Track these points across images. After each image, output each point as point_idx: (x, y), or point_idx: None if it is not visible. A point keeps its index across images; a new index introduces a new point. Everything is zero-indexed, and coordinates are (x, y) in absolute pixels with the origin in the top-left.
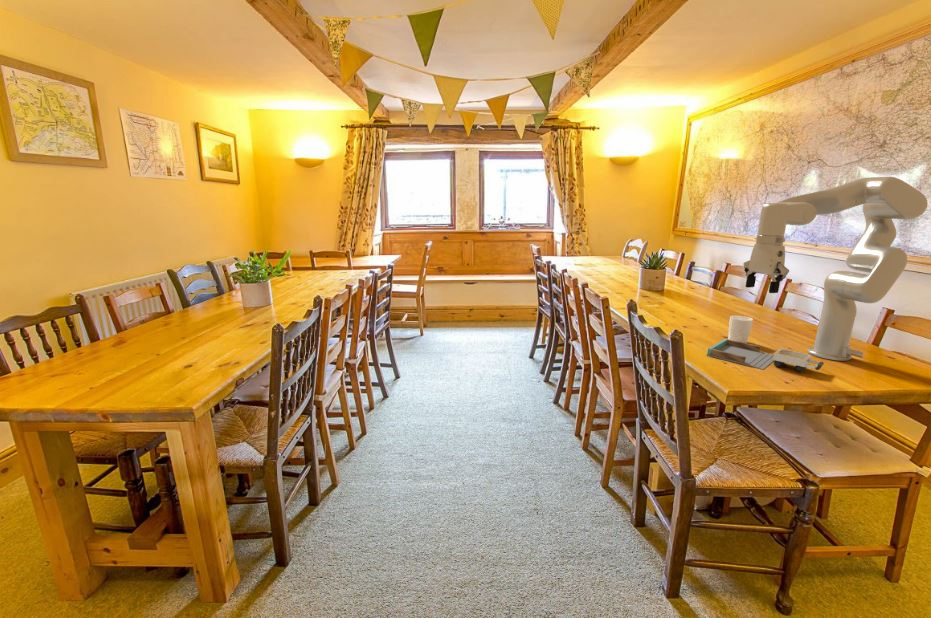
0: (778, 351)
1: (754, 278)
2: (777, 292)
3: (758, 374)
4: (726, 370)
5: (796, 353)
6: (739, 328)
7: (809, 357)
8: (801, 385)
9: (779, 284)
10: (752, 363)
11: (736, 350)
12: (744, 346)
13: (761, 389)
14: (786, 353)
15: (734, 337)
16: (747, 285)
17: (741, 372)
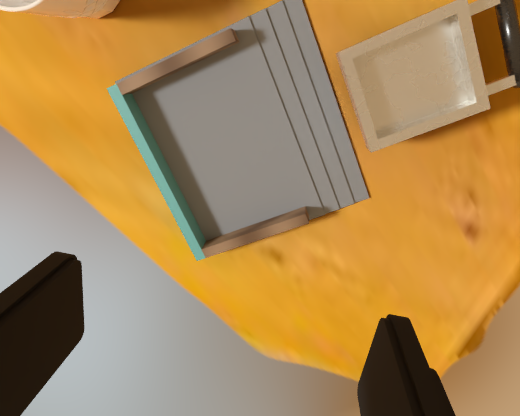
0: (365, 110)
1: (3, 343)
2: (404, 321)
3: (387, 247)
4: (324, 303)
5: (407, 33)
6: (75, 3)
7: (475, 42)
8: (509, 209)
9: (441, 398)
10: (321, 188)
11: (200, 119)
12: (187, 65)
13: (459, 335)
14: (369, 51)
15: (90, 14)
16: (71, 348)
17: (353, 278)
